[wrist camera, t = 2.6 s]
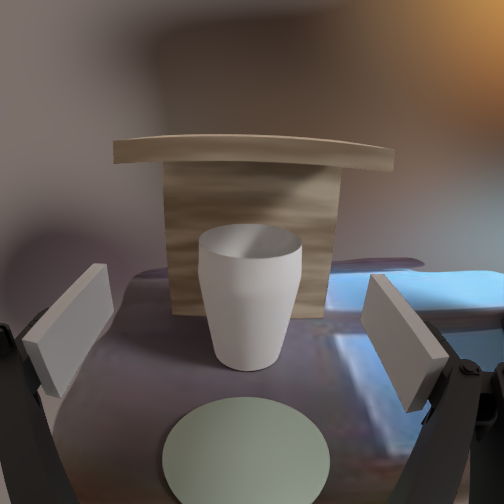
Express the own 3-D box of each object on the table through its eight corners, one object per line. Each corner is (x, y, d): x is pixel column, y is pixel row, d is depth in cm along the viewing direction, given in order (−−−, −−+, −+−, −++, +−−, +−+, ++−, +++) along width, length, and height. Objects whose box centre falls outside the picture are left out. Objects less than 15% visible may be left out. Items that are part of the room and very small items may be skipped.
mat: (353, 438, 20) (355, 434, 20) (268, 559, 11) (269, 557, 11) (232, 381, 27) (232, 377, 26) (130, 460, 18) (128, 457, 17)
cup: (192, 374, 27) (182, 254, 23) (213, 321, 36) (211, 220, 31) (290, 385, 26) (306, 264, 22) (292, 328, 35) (302, 226, 30)
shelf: (346, 389, 26) (394, 149, 18) (146, 385, 25) (113, 141, 18) (320, 311, 38) (339, 140, 30) (175, 308, 38) (166, 135, 30)
